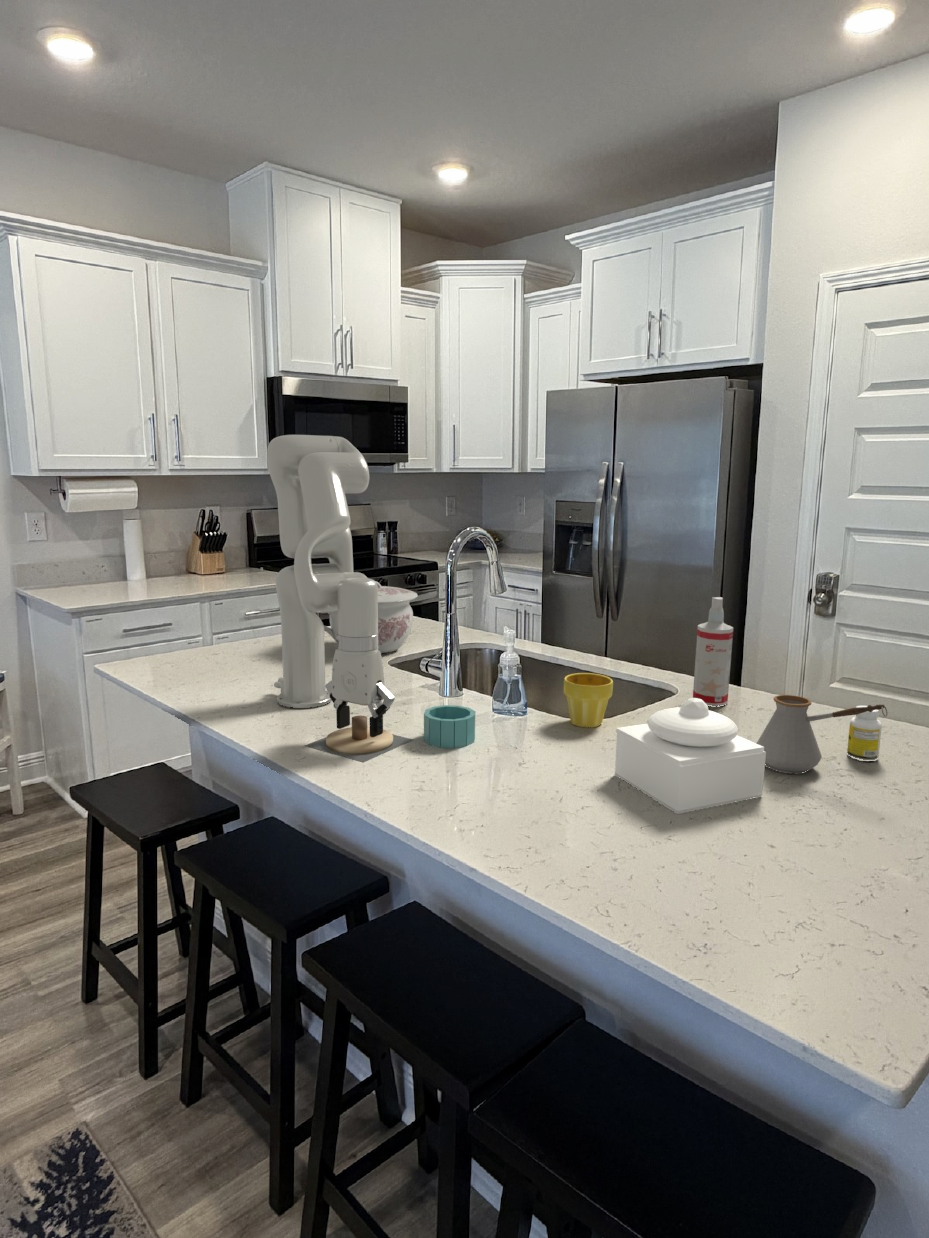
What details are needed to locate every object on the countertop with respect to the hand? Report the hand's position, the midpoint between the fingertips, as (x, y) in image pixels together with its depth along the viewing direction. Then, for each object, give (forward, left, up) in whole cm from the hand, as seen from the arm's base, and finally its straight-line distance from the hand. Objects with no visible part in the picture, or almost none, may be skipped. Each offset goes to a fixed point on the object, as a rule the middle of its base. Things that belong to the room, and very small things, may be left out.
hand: (359, 730), depth 154 cm
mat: (0, 0, -3) cm, 3 cm away
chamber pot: (-52, +64, -3) cm, 83 cm away
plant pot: (+30, +39, -3) cm, 49 cm away
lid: (0, 0, -2) cm, 2 cm away
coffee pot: (+76, +37, -3) cm, 85 cm away
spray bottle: (+47, +70, -3) cm, 84 cm away
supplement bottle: (+82, +51, -3) cm, 97 cm away
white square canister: (+59, +18, -3) cm, 61 cm away
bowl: (+13, +12, -3) cm, 18 cm away
